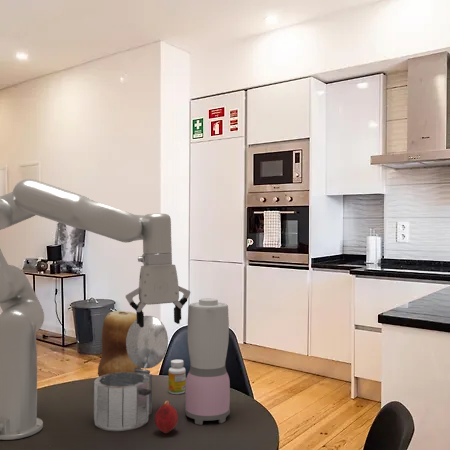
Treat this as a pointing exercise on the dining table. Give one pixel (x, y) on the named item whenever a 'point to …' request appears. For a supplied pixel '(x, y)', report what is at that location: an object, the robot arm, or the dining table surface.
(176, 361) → the supplement bottle
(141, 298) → the robot arm
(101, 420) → the pot
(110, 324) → the butternut squash
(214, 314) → the blender
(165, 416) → the red pomegranate
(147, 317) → the lid
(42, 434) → the dining table surface
